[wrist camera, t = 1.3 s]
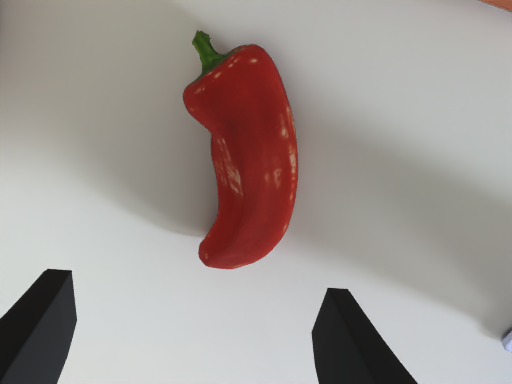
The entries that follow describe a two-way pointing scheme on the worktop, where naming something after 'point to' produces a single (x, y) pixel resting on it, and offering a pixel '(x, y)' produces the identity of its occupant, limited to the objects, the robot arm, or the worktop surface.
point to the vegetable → (245, 151)
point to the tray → (500, 4)
